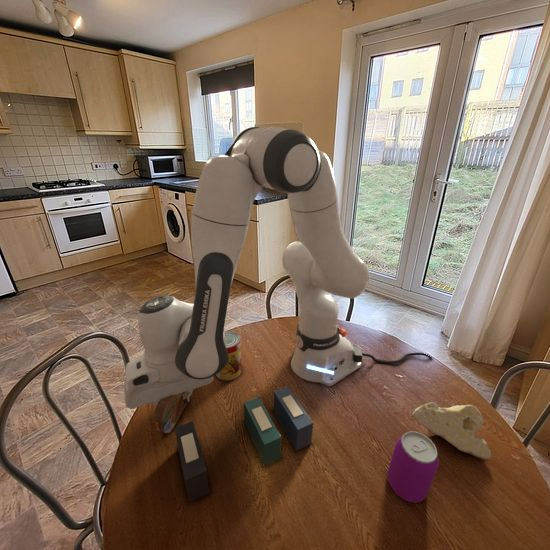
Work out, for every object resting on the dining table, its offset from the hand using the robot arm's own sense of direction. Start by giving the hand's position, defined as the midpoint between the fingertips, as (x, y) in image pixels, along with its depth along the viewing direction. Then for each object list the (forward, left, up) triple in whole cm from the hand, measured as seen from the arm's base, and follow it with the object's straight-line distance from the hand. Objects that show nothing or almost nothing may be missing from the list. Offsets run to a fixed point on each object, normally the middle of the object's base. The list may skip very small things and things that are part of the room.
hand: (174, 404), depth 73 cm
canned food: (-17, -9, -3) cm, 19 cm away
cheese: (-56, +35, -3) cm, 66 cm away
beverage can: (-40, +38, -3) cm, 55 cm away
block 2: (-17, +16, -3) cm, 23 cm away
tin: (0, 0, -3) cm, 3 cm away
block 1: (-1, +16, -3) cm, 16 cm away
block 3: (-25, +16, -3) cm, 30 cm away
